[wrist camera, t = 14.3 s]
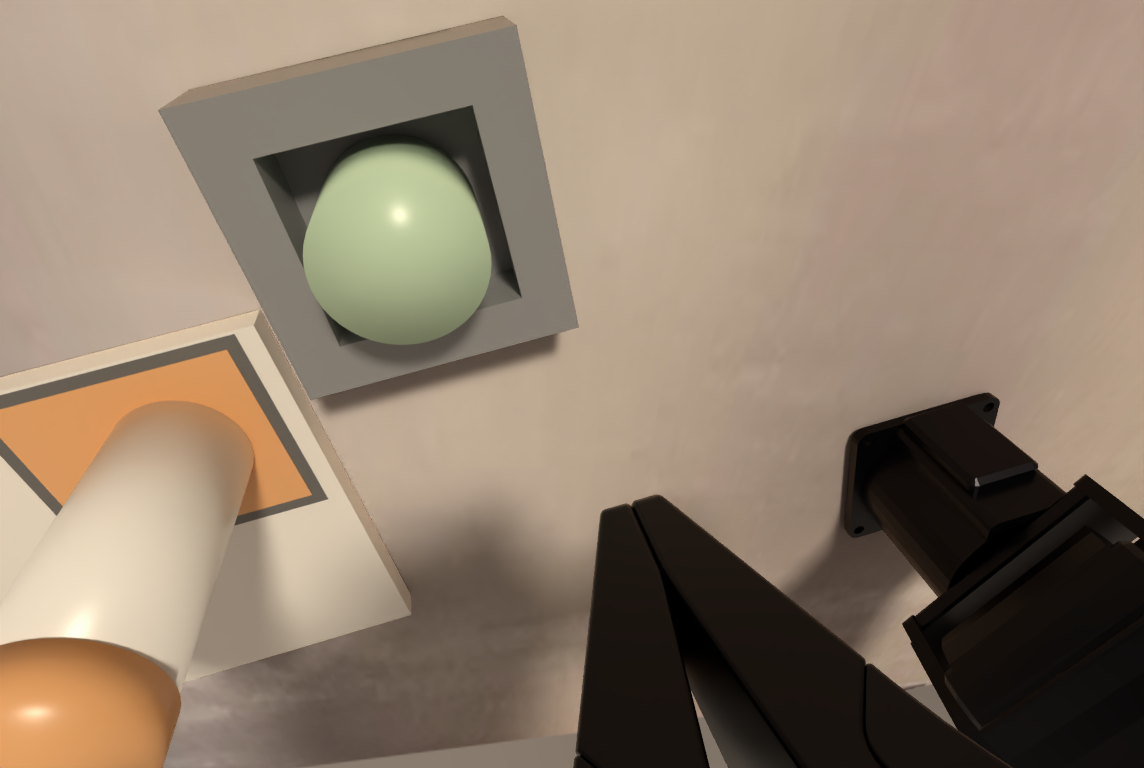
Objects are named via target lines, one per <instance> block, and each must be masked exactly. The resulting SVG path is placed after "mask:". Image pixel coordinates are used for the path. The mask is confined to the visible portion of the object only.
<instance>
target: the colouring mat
mask: <svg viewBox="0 0 1144 768" xmlns="http://www.w3.org/2000/svg"><path fill="white" fill-rule="evenodd" d="M175 400H176V401H187V402H193V403H197V404H201V405H204V406H207V407H210V408H212V409H215V410H217V411H219V412H221V413H223V414H224V415H226V416H227V417H229V418H230V419H232V420H233V421H234V422H235V423H237V424H238V425H239V426H240V427H241V428H242V430H243V431H244V432H245V434H246V435H247V437H248V438H249V440H250V442H251V445H252V448H253V453H254V463H253V468H252V471H251V474H250V478H249V481H248V484H247V487H246V490H245V493H244V496H243V499H242V503H241V506H240V509H239V512H238V515H237V518H236V521H235V525H234V528H233V531H232V534H231V537H230V540H229V543H228V547H227V550H226V553H225V556H224V559H223V562H222V565H221V569H220V572H219V575H218V578H217V581H216V584H215V587H214V590H213V594H212V597H211V600H210V603H209V606H208V609H207V612H206V616H205V619H204V622H203V625H202V628H201V631H200V634H199V638H198V641H197V644H196V647H195V650H194V653H193V656H192V659H191V663H190V666H189V669H188V672H187V675H186V678H185V681H184V682H187V681H190V680H194V679H197V678H200V677H204V676H207V675H211V674H214V673H217V672H221V671H224V670H227V669H231V668H234V667H238V666H241V665H244V664H248V663H251V662H254V661H258V660H261V659H265V658H268V657H271V656H275V655H278V654H281V653H285V652H288V651H291V650H295V649H298V648H302V647H305V646H308V645H312V644H315V643H318V642H322V641H325V640H329V639H332V638H335V637H339V636H342V635H345V634H349V633H352V632H355V631H359V630H362V629H366V628H369V627H372V626H376V625H379V624H382V623H386V622H389V621H393V620H396V619H399V618H403V617H406V616H409V615H411V594H410V592H409V590H408V589H407V587H406V585H405V583H404V581H403V579H402V577H401V575H400V573H399V572H398V570H397V568H396V566H395V564H394V562H393V560H392V558H391V556H390V555H389V553H388V551H387V549H386V547H385V545H384V543H383V541H382V539H381V538H380V536H379V534H378V532H377V530H376V528H375V526H374V524H373V522H372V521H371V519H370V517H369V515H368V513H367V511H366V509H365V507H364V505H363V503H362V502H361V500H360V498H359V496H358V494H357V492H356V490H355V488H354V486H353V485H352V483H351V481H350V479H349V477H348V475H347V473H346V471H345V469H344V468H343V466H342V464H341V462H340V460H339V458H338V456H337V454H336V452H335V451H334V449H333V447H332V445H331V443H330V441H329V439H328V437H327V435H326V434H325V432H324V430H323V428H322V426H321V424H320V422H319V420H318V418H317V417H316V415H315V413H314V411H313V409H312V407H311V405H310V403H309V401H308V400H307V398H306V396H305V394H304V392H303V390H302V388H301V386H300V384H299V383H298V381H297V379H296V377H295V375H294V373H293V371H292V369H291V367H290V366H289V364H288V362H287V360H286V358H285V356H284V354H283V352H282V350H281V349H280V347H279V345H278V343H277V341H276V339H275V337H274V335H273V333H272V331H271V330H270V328H269V326H268V324H267V322H266V320H265V318H264V316H263V314H262V313H261V311H260V310H257V311H253V312H249V313H245V314H242V315H238V316H234V317H230V318H226V319H222V320H219V321H215V322H211V323H207V324H203V325H199V326H196V327H192V328H188V329H184V330H180V331H176V332H172V333H169V334H165V335H161V336H157V337H153V338H149V339H146V340H142V341H138V342H134V343H130V344H126V345H123V346H119V347H115V348H111V349H107V350H103V351H100V352H96V353H92V354H88V355H84V356H80V357H77V358H73V359H69V360H65V361H61V362H57V363H54V364H50V365H46V366H42V367H38V368H34V369H31V370H27V371H23V372H19V373H15V374H11V375H7V376H4V377H0V603H1V602H2V600H3V599H4V597H5V596H6V594H7V592H8V591H9V589H10V588H11V586H12V585H13V583H14V582H15V580H16V578H17V577H18V575H19V574H20V572H21V571H22V569H23V568H24V566H25V565H26V563H27V561H28V560H29V558H30V557H31V555H32V554H33V552H34V551H35V549H36V548H37V546H38V544H39V543H40V541H41V540H42V538H43V537H44V535H45V534H46V532H47V531H48V529H49V527H50V526H51V524H52V523H53V521H54V520H55V518H56V517H57V515H58V513H59V512H60V510H61V509H62V507H63V506H64V504H65V503H66V501H67V500H68V498H69V496H70V495H71V493H72V492H73V490H74V489H75V487H76V486H77V484H78V483H79V481H80V479H81V478H82V476H83V475H84V473H85V472H86V470H87V469H88V467H89V466H90V464H91V462H92V461H93V459H94V458H95V456H96V455H97V453H98V452H99V450H100V448H101V447H102V445H103V444H104V442H105V441H106V439H107V438H108V436H109V435H110V433H111V431H112V430H113V428H114V427H115V425H116V424H117V423H118V421H119V420H120V419H121V418H122V417H123V416H124V415H126V414H127V413H129V412H130V411H132V410H134V409H136V408H138V407H140V406H143V405H145V404H149V403H153V402H159V401H175Z"/></svg>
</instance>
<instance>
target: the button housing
mask: <svg viewBox="0 0 1144 768" xmlns="http://www.w3.org/2000/svg"><path fill="white" fill-rule="evenodd" d="M158 111H159V113H160V115H161V117H162V118H163V120H164V122H165V124H166V126H167V128H168V130H169V132H170V134H171V136H172V137H173V139H174V141H175V143H176V145H177V147H178V149H179V151H180V153H181V155H182V157H183V158H184V160H185V162H186V164H187V166H188V168H189V170H190V172H191V174H192V176H193V177H194V179H195V181H196V183H197V185H198V187H199V189H200V191H201V193H202V195H203V196H204V198H205V200H206V202H207V204H208V206H209V208H210V210H211V212H212V214H213V215H214V217H215V219H216V221H217V223H218V225H219V227H220V229H221V231H222V233H223V234H224V236H225V238H226V240H227V242H228V244H229V246H230V248H231V250H232V252H233V253H234V255H235V257H236V259H237V261H238V263H239V265H240V267H241V269H242V271H243V272H244V274H245V276H246V278H247V280H248V282H249V284H250V286H251V288H252V290H253V292H254V293H255V295H256V297H257V299H258V301H259V303H260V305H261V307H262V309H263V311H264V312H265V314H266V316H267V318H268V320H269V322H270V324H271V326H272V328H273V330H274V331H275V333H276V335H277V337H278V339H279V341H280V343H281V345H282V347H283V349H284V350H285V352H286V354H287V356H288V358H289V360H290V362H291V364H292V366H293V368H294V369H295V371H296V373H297V375H298V377H299V379H300V381H301V383H302V385H303V387H304V388H305V390H306V392H307V394H308V396H309V398H310V400H313V399H316V398H320V397H324V396H327V395H331V394H335V393H338V392H342V391H346V390H350V389H353V388H357V387H361V386H364V385H368V384H372V383H375V382H379V381H383V380H386V379H390V378H394V377H397V376H401V375H405V374H408V373H412V372H416V371H420V370H423V369H427V368H431V367H434V366H438V365H442V364H445V363H449V362H453V361H456V360H460V359H464V358H467V357H471V356H475V355H479V354H482V353H486V352H490V351H493V350H497V349H501V348H504V347H508V346H512V345H515V344H519V343H523V342H526V341H530V340H534V339H537V338H541V337H545V336H549V335H552V334H556V333H560V332H563V331H567V330H571V329H574V328H578V327H579V326H578V321H577V316H576V311H575V307H574V302H573V297H572V292H571V287H570V282H569V277H568V273H567V268H566V263H565V258H564V253H563V248H562V244H561V239H560V234H559V229H558V224H557V219H556V214H555V210H554V205H553V200H552V195H551V190H550V185H549V181H548V176H547V171H546V166H545V161H544V156H543V151H542V147H541V142H540V137H539V132H538V127H537V122H536V118H535V113H534V108H533V103H532V98H531V93H530V88H529V84H528V79H527V74H526V69H525V64H524V59H523V55H522V50H521V45H520V40H519V35H518V30H517V25H516V24H514V23H513V22H511V21H510V20H508V19H507V18H505V17H504V16H500V17H496V18H491V19H487V20H483V21H479V22H475V23H470V24H466V25H462V26H458V27H453V28H449V29H445V30H441V31H436V32H432V33H428V34H424V35H419V36H415V37H411V38H407V39H403V40H398V41H394V42H390V43H386V44H381V45H377V46H373V47H369V48H364V49H360V50H356V51H352V52H347V53H343V54H339V55H335V56H331V57H326V58H322V59H318V60H314V61H309V62H305V63H301V64H297V65H292V66H288V67H284V68H280V69H276V70H271V71H267V72H263V73H259V74H254V75H250V76H246V77H242V78H237V79H233V80H229V81H225V82H220V83H216V84H212V85H208V86H204V87H199V88H195V89H191V90H188V91H187V92H185V93H184V94H182V95H181V96H179V97H178V98H176V99H175V100H173V101H171V102H170V103H168V104H167V105H165V106H164V107H162V108H161V109H159V110H158ZM382 135H405V136H410V137H415V138H419V139H421V140H424V141H427V142H429V143H431V144H433V145H435V146H437V147H438V148H440V149H441V150H443V151H444V152H446V153H447V154H448V155H449V156H450V157H452V158H453V159H454V160H455V161H456V162H457V164H458V165H459V166H460V167H461V168H462V170H463V171H464V173H465V174H466V176H467V177H468V179H469V181H470V183H471V185H472V188H473V190H474V193H475V196H476V200H477V203H478V207H479V211H480V214H481V218H482V221H483V225H484V228H485V232H486V235H487V239H488V243H489V247H490V252H491V276H490V280H489V285H488V288H487V291H486V293H485V296H484V298H483V299H482V301H481V303H480V305H479V306H478V308H477V309H476V310H475V312H474V313H473V314H472V315H471V316H470V317H469V319H468V320H467V321H465V322H464V323H463V324H462V325H461V326H459V327H458V328H457V329H455V330H453V331H452V332H450V333H449V334H446V335H444V336H442V337H440V338H437V339H434V340H431V341H428V342H424V343H419V344H410V345H394V344H386V343H380V342H376V341H372V340H369V339H367V338H364V337H361V336H359V335H357V334H355V333H353V332H351V331H349V330H348V329H346V328H345V327H343V326H341V325H340V324H339V323H338V322H336V321H335V320H334V319H333V318H332V317H331V316H330V315H329V314H328V313H327V312H326V311H325V310H324V309H323V308H322V306H321V305H320V304H319V302H318V301H317V300H316V298H315V296H314V294H313V293H312V291H311V289H310V286H309V284H308V281H307V279H306V275H305V270H304V264H303V244H304V239H305V235H306V231H307V228H308V225H309V223H310V220H311V217H312V214H313V211H314V208H315V206H316V203H317V200H318V197H319V194H320V191H321V189H322V186H323V183H324V180H325V178H326V175H327V173H328V172H329V170H330V168H331V166H332V165H333V164H334V162H335V161H336V160H337V159H338V158H339V157H340V156H341V155H342V154H343V153H344V152H345V151H346V150H348V149H349V148H351V147H352V146H354V145H355V144H357V143H359V142H361V141H363V140H366V139H369V138H372V137H377V136H382Z"/></svg>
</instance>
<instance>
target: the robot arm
mask: <svg viewBox="0 0 1144 768" xmlns="http://www.w3.org/2000/svg"><path fill="white" fill-rule="evenodd" d="M999 404H1000V401H999V399H998V398H996V397H995V396H994V395H992V394H991V393H983V394H979V395H976V396H972V397H969V398H965V399H962V400H958V401H955V402H952V403H948V404H945V405H941V406H938V407H934V408H931V409H928V410H924V411H921V412H917V413H914V414H910V415H907V416H903V417H900V418H897V419H893V420H890V421H886V422H883V423H879V424H876V425H873V426H869V427H866V428H863V429H861V430H859V431H858V432H856V434H855V435H854V436H853V439H852V448H851V459H850V471H849V482H848V493H847V504H846V515H845V530H846V531H847V533H848V534H849V535H850V536H851V537H854V538H855V537H860V536H863V535H867V534H870V533H873V532H877V531H880V530H883V531H884V532H885V533H886V534H887V535H888V537H889V538H890V539H891V540H892V542H893V543H894V544H895V545H896V546H897V548H898V549H899V550H900V551H901V552H902V554H903V555H904V556H905V557H906V559H907V560H908V561H909V562H910V563H911V565H912V566H913V567H914V568H915V570H916V571H917V572H918V573H919V574H920V576H921V577H922V578H923V579H924V580H925V582H926V583H927V584H928V585H929V587H930V588H931V589H932V590H933V591H934V593H935V594H936V595H937V596H938V598H937V599H936V600H934V601H933V602H932V603H931V604H930V605H928V606H927V607H926V608H925V609H923V610H922V611H921V612H920V613H918V614H917V615H916V616H914V615H912V616H911V617H909V618H908V619H907V620H906V621H905V622H903V623H902V625H903V627H904V629H905V631H906V632H907V634H908V636H909V638H910V640H911V646H912V647H913V649H914V651H915V653H916V655H917V657H918V658H919V660H920V662H921V664H922V666H923V668H924V669H925V671H926V673H927V675H928V677H929V678H930V680H931V682H932V684H933V686H934V688H935V689H936V691H937V693H938V695H939V697H940V699H941V700H942V702H943V704H944V706H945V708H946V710H947V711H948V713H949V715H950V717H951V718H952V721H953V722H954V724H955V726H956V728H957V729H958V730H957V729H955V728H954V727H953V726H951V725H950V724H948V723H947V722H945V721H944V720H942V719H941V718H940V717H939V716H937V715H936V714H935V713H933V712H932V711H931V710H930V709H928V708H927V707H926V706H924V705H923V704H922V703H920V702H919V701H918V700H917V699H915V698H914V697H912V696H911V695H910V694H909V693H907V692H906V691H905V690H903V689H902V688H901V687H900V686H898V685H897V684H896V683H895V682H893V681H892V680H891V679H890V678H888V677H887V676H886V675H885V674H883V673H882V672H881V671H880V670H879V669H877V668H876V667H875V666H874V665H872V664H867V665H866V662H865V659H864V658H863V657H862V656H861V655H859V654H858V653H857V652H856V651H854V650H853V649H852V648H851V647H850V646H848V645H847V644H846V643H845V642H843V641H842V640H841V639H840V638H838V637H837V636H836V635H835V634H833V633H832V632H831V631H830V630H828V629H827V628H826V627H825V626H823V625H822V624H821V623H820V622H818V621H817V620H816V619H815V618H813V617H812V616H811V615H810V614H808V613H807V612H806V611H805V610H803V609H802V608H801V607H800V606H799V605H797V604H796V603H795V602H794V601H792V600H791V599H790V598H789V597H787V596H786V595H785V594H784V593H782V592H781V591H780V590H779V589H777V588H776V587H775V586H774V585H772V584H771V583H770V582H769V581H767V580H766V579H765V578H764V577H762V576H761V575H760V574H759V573H757V572H756V571H755V570H754V569H752V568H751V567H750V566H749V565H748V564H746V563H745V562H744V561H743V560H741V559H740V558H739V557H738V556H736V555H735V554H734V553H733V552H731V551H730V550H729V549H728V548H726V547H725V546H724V545H723V544H721V543H720V542H719V541H718V540H716V539H715V538H714V537H713V536H711V535H710V534H709V533H708V532H706V531H705V530H704V529H703V528H702V527H700V526H699V525H698V524H697V523H695V522H694V521H693V520H692V519H690V518H689V517H688V516H687V515H685V514H684V513H683V512H682V511H680V510H679V509H678V508H677V507H675V506H674V505H673V504H672V503H670V502H669V501H668V500H667V499H665V498H664V497H663V496H661V495H653V496H649V497H646V498H643V499H639V500H636V501H634V502H633V503H632V505H631V506H630V505H629V504H622V505H619V506H615V507H612V508H608V509H605V510H603V511H602V513H601V515H600V523H599V532H598V542H597V551H596V561H595V571H594V580H593V590H592V599H591V609H590V618H589V628H588V637H587V647H586V656H585V666H584V675H583V685H582V694H581V704H580V714H579V723H578V733H577V742H576V754H577V757H575V759H574V767H573V768H710V767H709V763H708V759H707V755H706V751H705V746H704V742H703V738H702V734H701V730H700V726H699V722H698V718H697V714H696V710H695V705H694V701H693V697H692V693H693V695H694V697H695V699H696V701H697V703H698V706H699V708H700V710H701V712H702V714H703V716H704V718H705V720H706V722H707V724H708V726H709V729H710V731H711V733H712V735H713V737H714V739H715V741H716V743H717V745H718V747H719V749H720V752H721V754H722V756H723V758H724V760H725V762H726V764H727V766H728V768H1144V519H1143V518H1142V517H1141V516H1139V515H1138V514H1137V513H1136V512H1134V511H1133V510H1132V509H1130V508H1129V507H1128V506H1126V505H1125V504H1124V503H1123V502H1121V501H1120V500H1119V499H1117V498H1116V497H1115V496H1113V495H1112V494H1111V493H1110V492H1108V491H1107V490H1106V489H1104V488H1103V487H1102V486H1100V485H1099V484H1098V483H1097V482H1095V481H1094V480H1093V479H1091V478H1090V477H1089V476H1087V475H1086V474H1085V475H1084V476H1082V477H1081V478H1080V479H1079V480H1078V481H1076V482H1075V483H1074V484H1073V485H1075V487H1074V488H1072V489H1071V490H1070V491H1069V492H1067V493H1066V492H1065V491H1063V490H1062V489H1061V488H1060V487H1059V486H1057V485H1056V484H1055V483H1054V482H1053V481H1051V480H1050V479H1049V478H1048V477H1046V476H1045V475H1044V474H1043V473H1042V472H1040V471H1039V470H1038V463H1037V462H1036V461H1035V460H1033V459H1032V458H1031V457H1030V456H1029V455H1027V454H1026V453H1025V452H1024V451H1022V450H1021V449H1020V448H1019V447H1017V446H1016V445H1015V444H1014V443H1013V442H1011V441H1010V440H1009V439H1008V438H1006V437H1005V436H1004V435H1003V434H1001V433H1000V432H999V431H998V430H997V429H995V428H994V424H995V420H996V416H997V412H998V408H999ZM1137 537H1139V538H1140V539H1139V540H1138V541H1136V542H1135V543H1134V544H1133V543H1132V541H1133V540H1134V539H1136V538H1137ZM865 665H866V667H865ZM691 691H692V693H691Z"/></svg>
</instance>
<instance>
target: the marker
mask: <svg viewBox="0 0 1144 768" xmlns="http://www.w3.org/2000/svg"><path fill="white" fill-rule="evenodd" d="M253 463H254V453H253V448H252V445H251V442H250V440H249V438H248V437H247V435H246V434H245V432H244V431H243V430H242V428H241V427H240V426H239V425H238V424H237V423H235V422H234V421H233V420H232V419H230V418H229V417H227V416H226V415H224V414H223V413H221V412H219V411H217V410H215V409H212V408H210V407H207V406H204V405H201V404H197V403H193V402H187V401H176V400H175V401H159V402H153V403H149V404H145V405H143V406H140V407H138V408H136V409H134V410H132V411H130V412H129V413H127V414H126V415H124V416H123V417H122V418H121V419H120V420H119V421H118V423H117V424H116V425H115V427H114V428H113V430H112V431H111V433H110V435H109V436H108V438H107V439H106V441H105V442H104V444H103V445H102V447H101V448H100V450H99V452H98V453H97V455H96V456H95V458H94V459H93V461H92V462H91V464H90V466H89V467H88V469H87V470H86V472H85V473H84V475H83V476H82V478H81V479H80V481H79V483H78V484H77V486H76V487H75V489H74V490H73V492H72V493H71V495H70V496H69V498H68V500H67V501H66V503H65V504H64V506H63V507H62V509H61V510H60V512H59V513H58V515H57V517H56V518H55V520H54V521H53V523H52V524H51V526H50V527H49V529H48V531H47V532H46V534H45V535H44V537H43V538H42V540H41V541H40V543H39V544H38V546H37V548H36V549H35V551H34V552H33V554H32V555H31V557H30V558H29V560H28V561H27V563H26V565H25V566H24V568H23V569H22V571H21V572H20V574H19V575H18V577H17V578H16V580H15V582H14V583H13V585H12V586H11V588H10V589H9V591H8V592H7V594H6V596H5V597H4V599H3V600H2V602H1V603H0V768H163V765H164V762H165V758H166V755H167V752H168V749H169V746H170V742H171V739H172V736H173V733H174V730H175V726H176V723H177V720H178V717H179V714H180V709H181V696H180V694H181V691H182V688H183V685H184V681H185V678H186V675H187V672H188V669H189V666H190V663H191V659H192V656H193V653H194V650H195V647H196V644H197V641H198V638H199V634H200V631H201V628H202V625H203V622H204V619H205V616H206V612H207V609H208V606H209V603H210V600H211V597H212V594H213V590H214V587H215V584H216V581H217V578H218V575H219V572H220V569H221V565H222V562H223V559H224V556H225V553H226V550H227V547H228V543H229V540H230V537H231V534H232V531H233V528H234V525H235V521H236V518H237V515H238V512H239V509H240V506H241V503H242V499H243V496H244V493H245V490H246V487H247V484H248V481H249V478H250V474H251V471H252V468H253Z"/></svg>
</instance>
